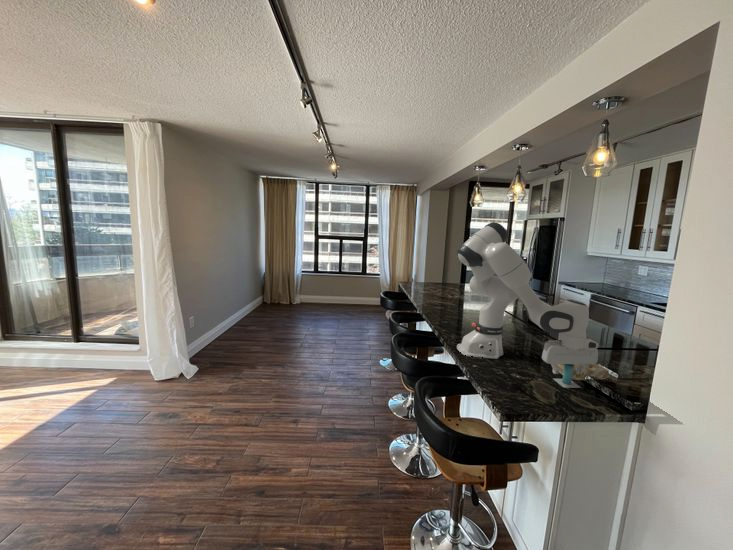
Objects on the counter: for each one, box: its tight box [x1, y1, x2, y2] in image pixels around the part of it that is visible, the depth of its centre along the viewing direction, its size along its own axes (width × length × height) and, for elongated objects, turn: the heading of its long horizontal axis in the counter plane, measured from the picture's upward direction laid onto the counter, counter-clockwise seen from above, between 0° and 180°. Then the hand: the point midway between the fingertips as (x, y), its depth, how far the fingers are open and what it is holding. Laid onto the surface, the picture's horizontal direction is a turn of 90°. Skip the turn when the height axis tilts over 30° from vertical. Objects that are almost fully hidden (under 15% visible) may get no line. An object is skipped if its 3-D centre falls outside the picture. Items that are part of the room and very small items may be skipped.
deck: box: [553, 378, 582, 389], centre depth 121 cm, size 7×7×1 cm
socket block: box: [556, 363, 610, 381], centre depth 128 cm, size 16×9×5 cm, turn 91°
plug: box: [561, 364, 574, 385], centre depth 121 cm, size 3×3×8 cm
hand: (567, 373), depth 120 cm, fingers open, 8 cm apart
